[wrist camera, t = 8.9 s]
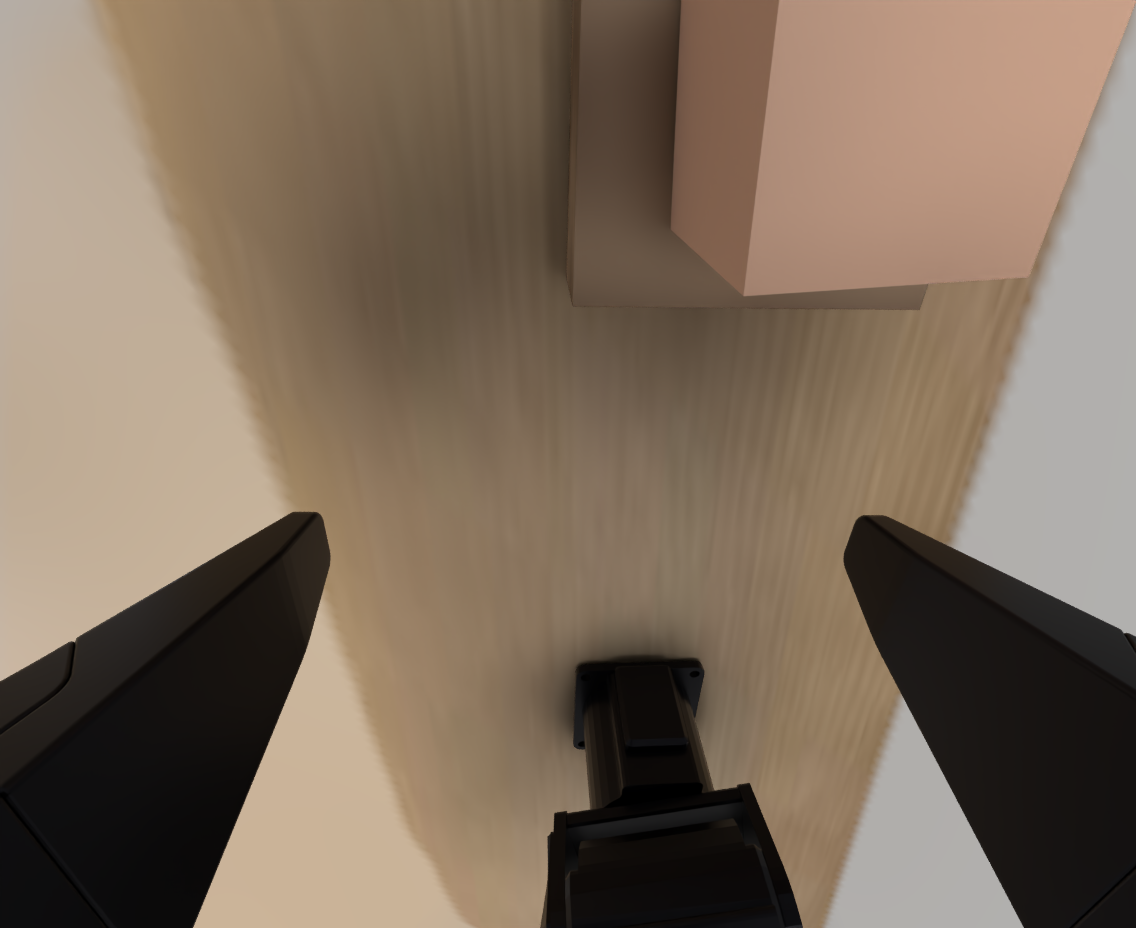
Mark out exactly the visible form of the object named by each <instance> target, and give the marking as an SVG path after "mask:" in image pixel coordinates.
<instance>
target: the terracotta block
mask: <svg viewBox="0 0 1136 928" xmlns="http://www.w3.org/2000/svg"><path fill="white" fill-rule="evenodd" d="M1135 3H1136V0H681V15H680V37H679V58H678V79H677V101H676V122H675V143H674V164H673V186H672V207H671V228H670V229H671V230H672V231H673V232H674V233H675V234H676V235H677V236H678V237H679V238H680V239H682V240H683V241H684V242H685V243H686V244H687V245H688V246H689V247H690V248H691V249H692V250H694V251H695V252H696V253H697V254H698V255H699V256H700V257H701V258H702V259H703V260H704V261H706V262H707V263H708V264H709V265H710V266H711V267H712V268H713V269H714V270H715V271H716V272H718V273H719V274H720V275H721V276H722V277H723V278H724V279H725V280H726V281H727V282H728V283H730V284H731V285H732V286H733V287H734V288H735V289H736V290H737V291H738V292H739V293H740V294H742V295H743V296H755V295H770V294H785V293H800V292H815V291H830V290H845V289H860V288H875V287H890V286H905V285H920V284H935V283H950V282H965V281H980V280H995V279H1010V278H1025V277H1029V275H1030V272H1031V270H1032V267H1033V265H1034V262H1035V260H1036V257H1037V254H1038V252H1039V249H1040V247H1041V244H1042V242H1043V239H1044V237H1045V234H1046V231H1047V229H1048V226H1049V224H1050V221H1051V219H1052V216H1053V213H1054V211H1055V208H1056V206H1057V203H1058V201H1059V198H1060V196H1061V193H1062V190H1063V188H1064V185H1065V183H1066V180H1067V178H1068V175H1069V172H1070V170H1071V167H1072V165H1073V162H1074V160H1075V157H1076V155H1077V152H1078V149H1079V147H1080V144H1081V142H1082V139H1083V137H1084V134H1085V131H1086V129H1087V126H1088V124H1089V121H1090V119H1091V116H1092V113H1093V111H1094V108H1095V106H1096V103H1097V101H1098V98H1099V96H1100V93H1101V90H1102V88H1103V85H1104V83H1105V80H1106V78H1107V75H1108V72H1109V70H1110V67H1111V65H1112V62H1113V60H1114V57H1115V55H1116V52H1117V49H1118V47H1119V44H1120V42H1121V39H1122V37H1123V34H1124V31H1125V29H1126V26H1127V24H1128V21H1129V19H1130V16H1131V14H1132V11H1133V8H1134V6H1135Z"/></svg>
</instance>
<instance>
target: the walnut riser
mask: <svg viewBox="0 0 1136 928" xmlns="http://www.w3.org/2000/svg"><path fill="white" fill-rule="evenodd" d="M680 15H681V0H572V44H571V90H570V136H569V182H568V228H567V274H566V277H567V282H568V287H569V291H570V296H571V301H572V305H573V307H669V308H772V309H875V310H920V307H921V304H922V301H923V298H924V296H925V293H926V290H927V287H928V284H920V285H905V286H890V287H875V288H860V289H845V290H830V291H815V292H800V293H785V294H770V295H755V296H743V295H742V294H740V293H739V292H738V291H737V290H736V289H735V288H734V287H733V286H732V285H731V284H730V283H728V282H727V281H726V280H725V279H724V278H723V277H722V276H721V275H720V274H719V273H718V272H716V271H715V270H714V269H713V268H712V267H711V266H710V265H709V264H708V263H707V262H706V261H704V260H703V259H702V258H701V257H700V256H699V255H698V254H697V253H696V252H695V251H694V250H692V249H691V248H690V247H689V246H688V245H687V244H686V243H685V242H684V241H683V240H682V239H680V238H679V237H678V236H677V235H676V234H675V233H674V232H673V231H672V230H671V229H670V228H671V207H672V186H673V164H674V143H675V122H676V101H677V79H678V58H679V37H680Z"/></svg>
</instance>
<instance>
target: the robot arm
mask: <svg viewBox="0 0 1136 928" xmlns="http://www.w3.org/2000/svg"><path fill="white" fill-rule="evenodd" d="M844 566H845V569H846V572H847V574H848V577H849V579H850V582H851V584H852V587H853V589H854V592H855V594H856V597H857V600H858V602H859V605H860V607H861V610H862V612H863V615H864V617H865V620H866V622H867V625H868V627H869V630H870V632H871V635H872V637H873V639H874V641H875V644H876V646H877V648H878V650H879V652H880V654H881V656H882V658H883V660H884V662H885V664H886V666H887V667H888V669H889V671H890V673H891V675H892V677H893V679H894V681H895V683H896V685H897V687H898V688H899V690H900V692H901V694H902V696H903V698H904V700H905V702H906V704H907V706H908V708H909V709H910V711H911V713H912V715H913V717H914V719H915V721H916V723H917V725H918V727H919V729H920V730H921V732H922V734H923V736H924V738H925V740H926V742H927V744H928V746H929V748H930V749H931V751H932V753H933V755H934V757H935V759H936V761H937V763H938V764H939V767H940V769H941V771H942V772H943V774H944V776H945V778H946V780H947V782H948V784H949V786H950V788H951V789H952V792H953V793H954V795H955V797H956V799H957V801H958V803H959V805H960V807H961V809H962V811H963V812H964V814H965V816H966V818H967V820H968V822H969V824H970V826H971V827H972V829H973V832H974V834H975V835H976V837H977V839H978V841H979V843H980V845H981V847H982V849H983V851H984V853H985V854H986V856H987V858H988V860H989V862H990V864H991V866H992V868H993V870H994V871H995V874H996V876H997V877H998V879H999V881H1000V883H1001V885H1002V887H1003V889H1004V891H1005V893H1006V894H1007V896H1008V898H1009V900H1010V902H1011V904H1012V906H1013V908H1014V910H1015V912H1016V914H1017V915H1018V917H1019V919H1020V921H1021V923H1022V925H1023V927H1024V928H1136V636H1133V635H1131V634H1129V633H1123V632H1122V630H1121V629H1119V628H1117V627H1115V626H1113V625H1110V624H1108V623H1106V622H1104V621H1102V620H1100V619H1098V618H1096V617H1094V616H1092V615H1090V614H1088V613H1086V612H1084V611H1082V610H1079V609H1077V608H1075V607H1073V606H1071V605H1069V604H1067V603H1065V602H1063V601H1061V600H1059V599H1057V598H1055V597H1053V596H1051V595H1048V594H1046V593H1044V592H1042V591H1040V590H1038V589H1036V588H1034V587H1032V586H1030V585H1028V584H1026V583H1024V582H1022V581H1020V580H1018V579H1015V578H1013V577H1011V576H1009V575H1007V574H1005V573H1003V572H1001V571H999V570H997V569H995V568H993V567H991V566H989V565H986V564H984V563H982V562H980V561H978V560H976V559H974V558H972V557H970V556H968V555H966V554H964V553H962V552H960V551H958V550H956V549H953V548H951V547H949V546H947V545H945V544H943V543H941V542H939V541H937V540H935V539H933V538H931V537H929V536H927V535H925V534H923V533H920V532H918V531H916V530H914V529H912V528H910V527H908V526H906V525H904V524H902V523H900V522H898V521H896V520H894V519H892V518H889V517H887V516H883V515H863V516H860V517H859V518H858V519H857V520H856V522H855V524H854V527H853V529H852V532H851V535H850V538H849V540H848V543H847V546H846V549H845V552H844ZM329 567H330V549H329V544H328V540H327V535H326V530H325V526H324V521H323V518H322V516H321V515H320V514H319V513H318V512H292V513H290V514H288V515H287V516H285V517H283V518H282V519H280V520H278V521H276V522H275V523H273V524H271V525H270V526H268V527H266V528H264V529H263V530H261V531H259V532H258V533H256V534H254V535H253V536H251V537H249V538H247V539H245V540H244V541H242V542H240V543H239V544H237V545H235V546H233V547H232V548H230V549H228V550H227V551H225V552H223V553H222V554H220V555H218V556H216V557H215V558H213V559H211V560H209V561H208V562H206V563H204V564H203V565H201V566H199V567H197V568H196V569H194V570H193V571H191V572H189V573H187V574H185V575H184V576H182V577H180V578H179V579H177V580H175V581H173V582H172V583H170V584H168V585H167V586H165V587H163V588H161V589H160V590H158V591H156V592H155V593H153V594H151V595H149V596H148V597H146V598H144V599H143V600H141V601H139V602H137V603H136V604H134V605H132V606H130V607H129V608H127V609H125V610H124V611H122V612H120V613H118V614H117V615H115V616H114V617H111V618H110V619H108V620H106V621H105V622H103V623H101V624H99V625H98V626H96V627H94V628H93V629H91V630H89V631H87V632H86V633H84V634H82V635H81V636H79V637H77V638H76V641H75V642H72V641H71V642H68V643H67V644H65V645H63V646H61V647H60V648H58V649H56V650H55V651H53V652H51V653H50V654H48V655H46V656H44V657H43V658H41V659H40V660H38V661H36V662H34V663H32V664H30V665H29V666H27V667H25V668H23V669H22V670H20V671H18V672H16V673H15V674H13V675H11V676H9V677H7V678H6V679H4V680H2V681H0V928H193V927H194V924H195V922H196V919H197V917H198V914H199V912H200V910H201V907H202V905H203V902H204V899H205V897H206V895H207V892H208V890H209V888H210V885H211V883H212V880H213V878H214V875H215V873H216V870H217V868H218V865H219V863H220V860H221V858H222V855H223V853H224V851H225V848H226V846H227V843H228V841H229V839H230V836H231V834H232V831H233V829H234V826H235V824H236V821H237V819H238V816H239V814H240V812H241V809H242V807H243V804H244V802H245V799H246V797H247V794H248V792H249V789H250V787H251V785H252V782H253V780H254V777H255V775H256V772H257V770H258V768H259V765H260V763H261V760H262V758H263V755H264V753H265V750H266V748H267V746H268V743H269V741H270V738H271V736H272V733H273V731H274V728H275V726H276V724H277V721H278V719H279V716H280V714H281V711H282V709H283V706H284V704H285V701H286V699H287V697H288V694H289V692H290V689H291V687H292V684H293V682H294V679H295V677H296V674H297V672H298V670H299V667H300V665H301V662H302V660H303V657H304V654H305V652H306V649H307V646H308V642H309V639H310V636H311V632H312V629H313V625H314V621H315V618H316V614H317V611H318V607H319V603H320V600H321V596H322V592H323V589H324V585H325V581H326V578H327V574H328V570H329ZM703 678H704V669H703V666H702V664H701V663H700V662H698V661H679V662H647V663H615V664H585V665H581V666H579V667H578V668H577V669H576V672H575V699H574V726H573V744H574V747H575V748H577V749H582V750H583V749H585V751H586V762H587V774H588V786H589V798H590V810H585V811H579V812H572V813H567V811H563V812H557V813H555V814H554V832H551V834H550V835H549V836H548V881H547V889H546V895H545V901H544V908H543V914H542V920H541V927H540V928H803V926H802V922H801V919H800V915H799V911H798V908H797V904H796V901H795V898H794V895H793V891H792V888H791V885H790V883H789V880H788V877H787V874H786V872H785V869H784V866H783V864H782V861H781V859H780V856H779V854H778V852H777V849H776V847H775V844H774V842H773V839H772V837H771V834H770V832H769V829H768V827H767V825H766V822H765V820H764V817H763V815H762V812H761V810H760V807H759V805H758V802H757V800H756V798H755V795H754V793H753V790H752V788H751V785H750V783H746V784H739V785H737V787H735V788H729V789H722V790H716V791H714V788H713V784H712V781H711V777H710V773H709V770H708V766H707V762H706V759H705V755H704V751H703V748H702V744H701V740H700V737H699V733H698V729H697V726H696V722H695V715H696V711H697V706H698V701H699V697H700V692H701V687H702V683H703Z"/></svg>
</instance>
